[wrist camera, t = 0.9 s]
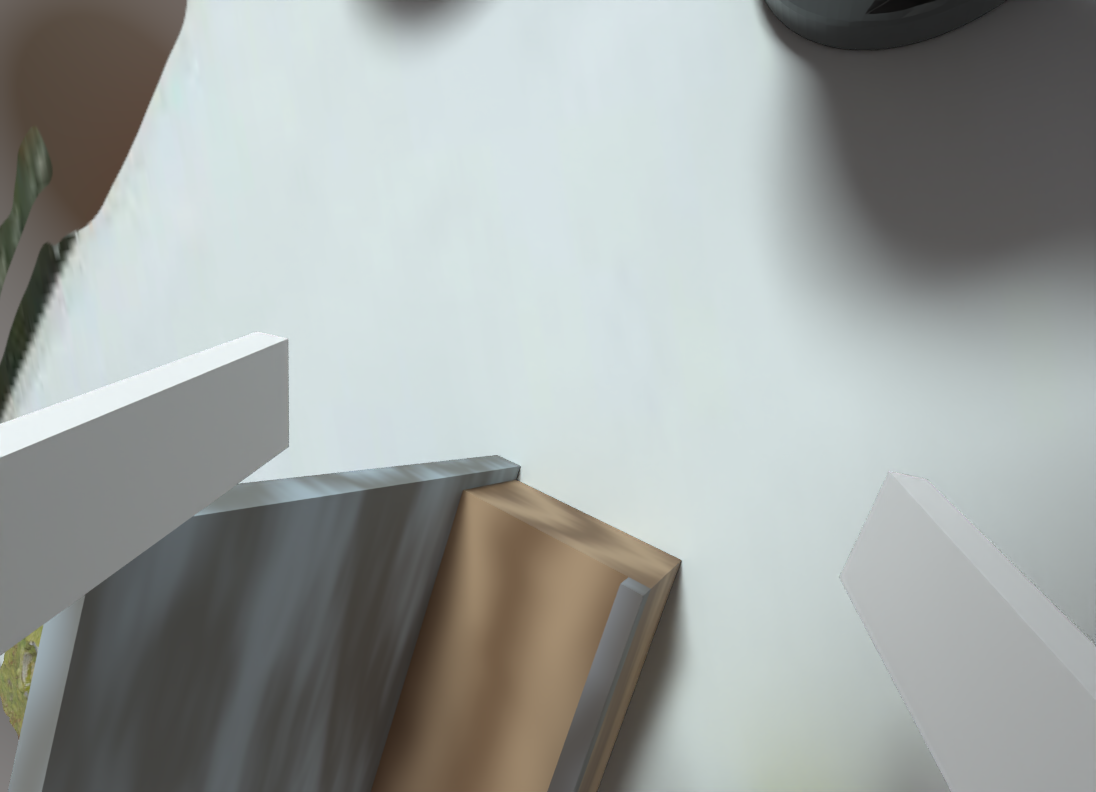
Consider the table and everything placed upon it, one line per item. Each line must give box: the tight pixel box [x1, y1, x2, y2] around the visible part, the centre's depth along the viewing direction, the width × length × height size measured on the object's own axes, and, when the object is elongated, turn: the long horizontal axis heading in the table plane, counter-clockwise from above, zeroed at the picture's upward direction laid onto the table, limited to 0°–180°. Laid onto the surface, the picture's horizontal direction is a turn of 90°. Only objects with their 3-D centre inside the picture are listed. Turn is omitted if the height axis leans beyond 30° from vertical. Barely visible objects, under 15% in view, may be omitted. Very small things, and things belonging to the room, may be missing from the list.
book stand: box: [8, 455, 681, 792], centre depth 26 cm, size 14×24×24 cm, turn 160°
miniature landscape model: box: [0, 624, 44, 739], centre depth 62 cm, size 22×24×5 cm
